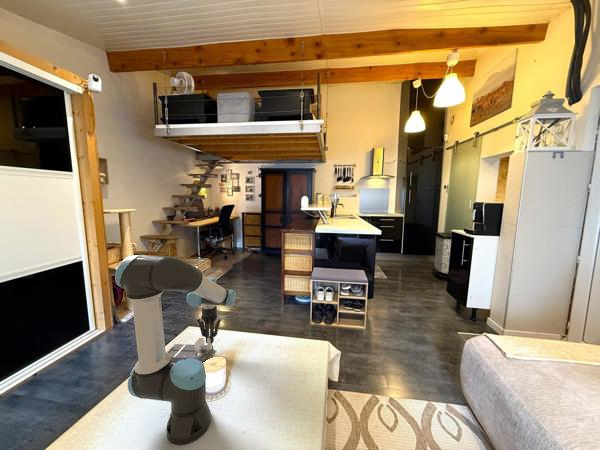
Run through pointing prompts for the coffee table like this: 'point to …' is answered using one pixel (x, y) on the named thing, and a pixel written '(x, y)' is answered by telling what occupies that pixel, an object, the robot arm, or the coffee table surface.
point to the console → (188, 352)
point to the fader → (199, 345)
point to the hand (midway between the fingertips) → (209, 348)
